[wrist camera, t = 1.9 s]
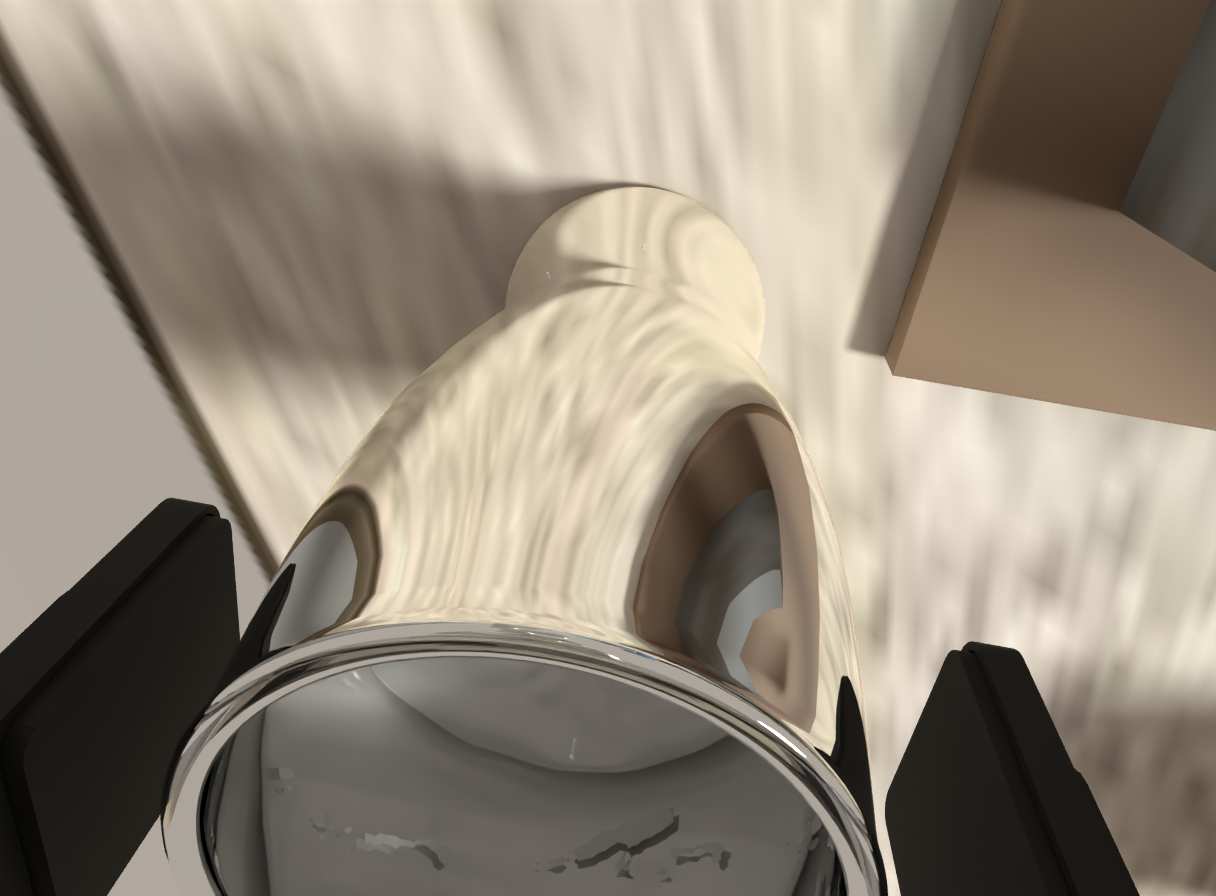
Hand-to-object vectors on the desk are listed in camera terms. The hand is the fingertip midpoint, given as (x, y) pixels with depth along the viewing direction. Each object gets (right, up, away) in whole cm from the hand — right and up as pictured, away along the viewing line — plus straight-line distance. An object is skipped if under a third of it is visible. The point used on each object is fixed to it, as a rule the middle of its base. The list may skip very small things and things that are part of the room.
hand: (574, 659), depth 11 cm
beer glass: (+1, +6, +10) cm, 11 cm away
